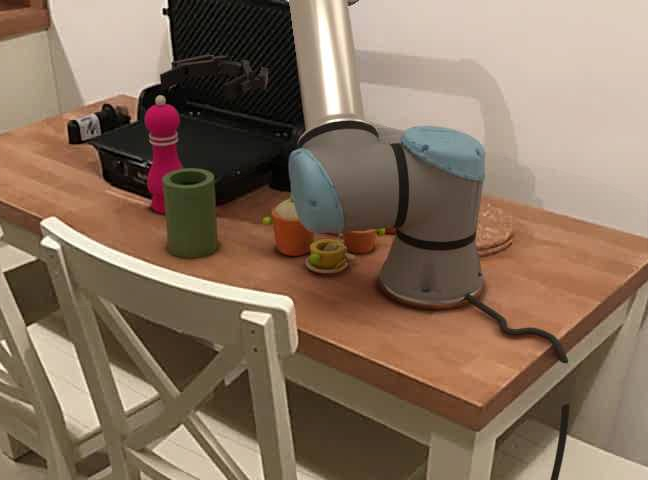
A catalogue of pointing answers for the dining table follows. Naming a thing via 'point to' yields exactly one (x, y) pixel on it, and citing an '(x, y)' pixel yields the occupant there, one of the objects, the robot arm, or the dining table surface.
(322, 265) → the toy tea set
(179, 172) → the green cylindrical container
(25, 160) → the dining table surface
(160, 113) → the pepper mill
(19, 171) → the dining table surface
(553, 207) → the dining table surface
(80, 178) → the dining table surface
